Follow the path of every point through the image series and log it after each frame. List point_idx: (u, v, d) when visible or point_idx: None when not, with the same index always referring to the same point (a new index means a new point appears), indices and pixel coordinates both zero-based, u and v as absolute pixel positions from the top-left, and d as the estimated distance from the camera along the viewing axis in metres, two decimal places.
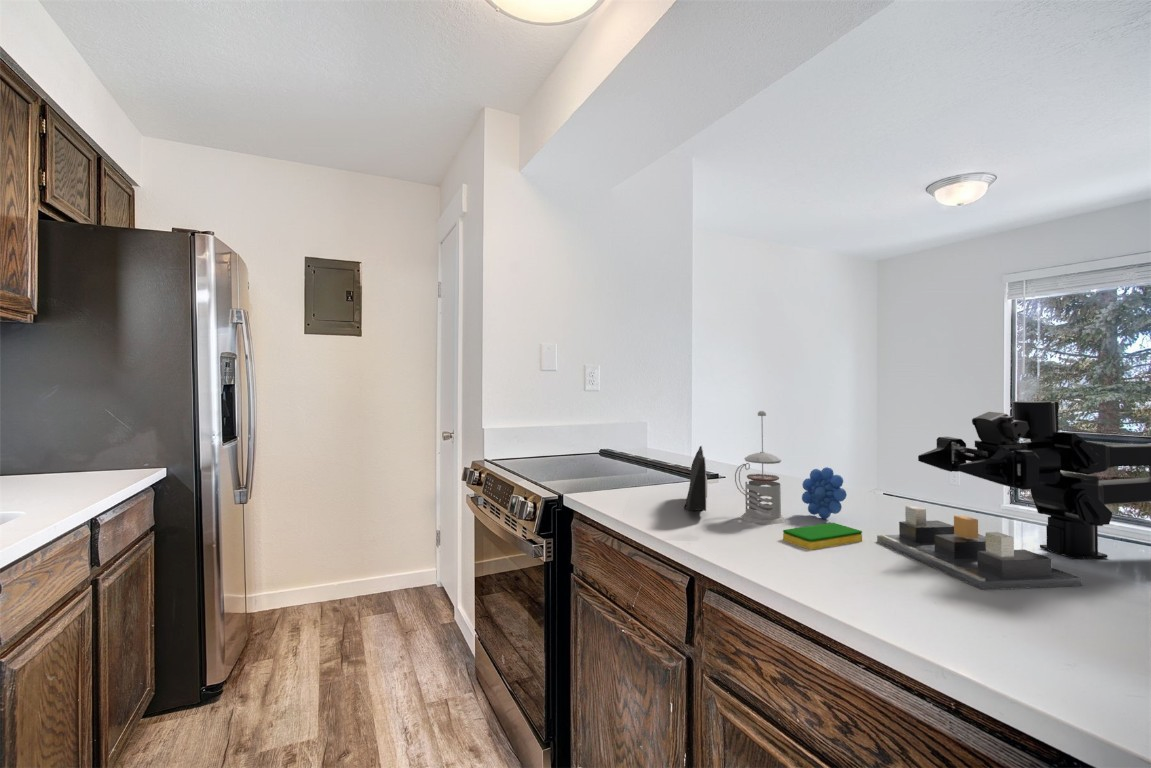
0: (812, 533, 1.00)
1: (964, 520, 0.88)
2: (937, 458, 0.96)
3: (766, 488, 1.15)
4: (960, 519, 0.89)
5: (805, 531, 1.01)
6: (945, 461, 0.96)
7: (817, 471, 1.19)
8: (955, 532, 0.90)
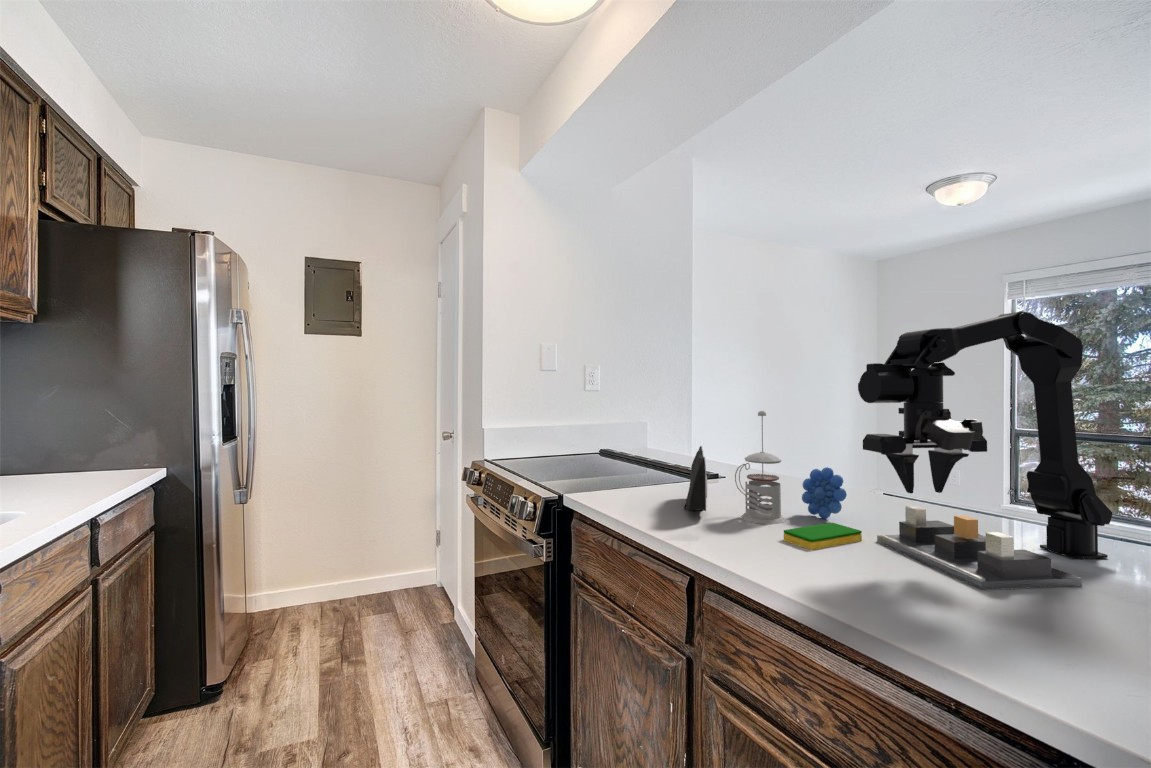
0: (813, 533, 1.00)
1: (964, 520, 0.88)
2: None
3: (766, 488, 1.15)
4: (960, 519, 0.89)
5: (805, 531, 1.01)
6: None
7: (817, 471, 1.19)
8: (955, 532, 0.90)
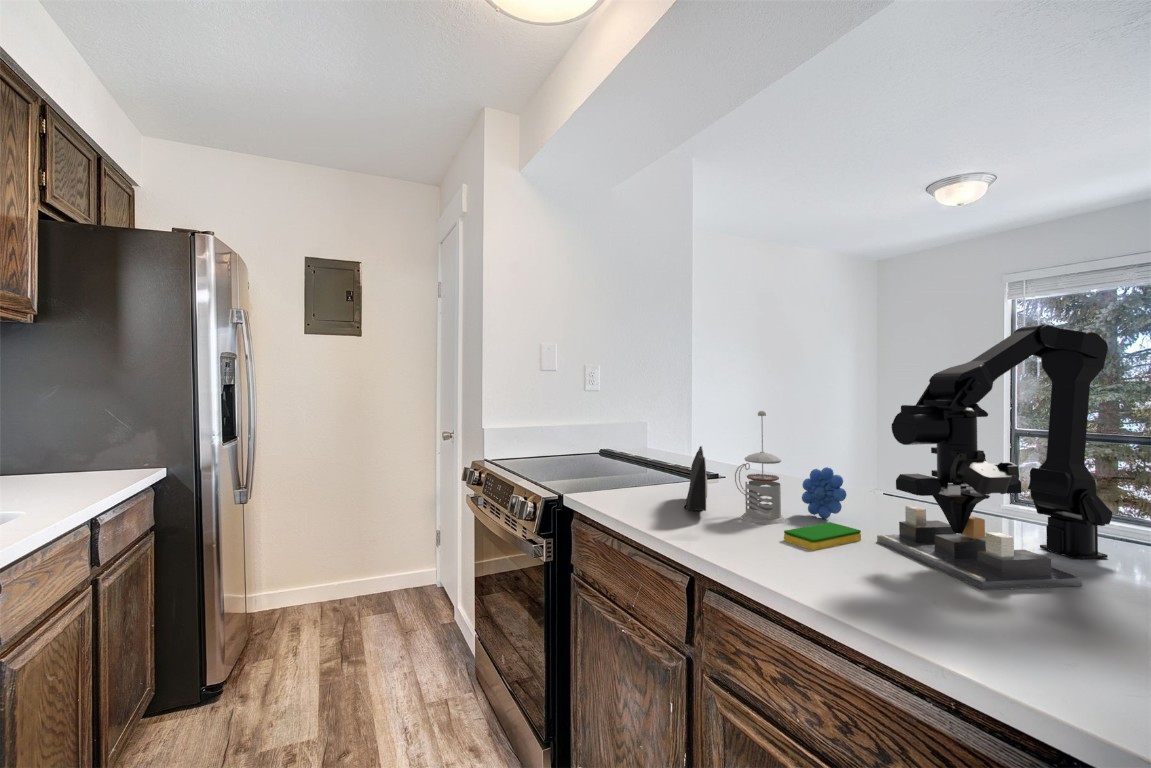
0: (813, 533, 1.00)
1: (971, 520, 0.88)
2: None
3: (766, 488, 1.15)
4: None
5: (806, 531, 1.01)
6: None
7: (817, 471, 1.19)
8: None
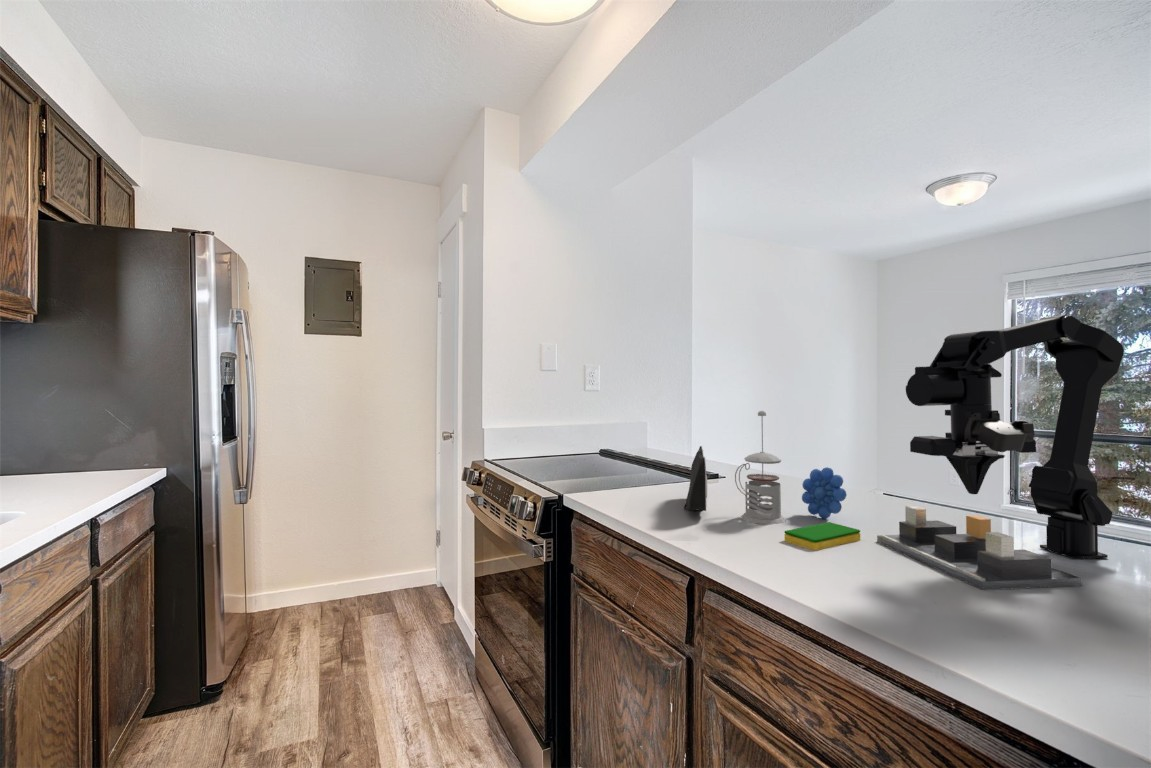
0: (814, 533, 1.00)
1: (977, 520, 0.88)
2: None
3: (766, 488, 1.15)
4: (973, 519, 0.89)
5: (806, 531, 1.01)
6: None
7: (817, 471, 1.19)
8: (967, 532, 0.90)
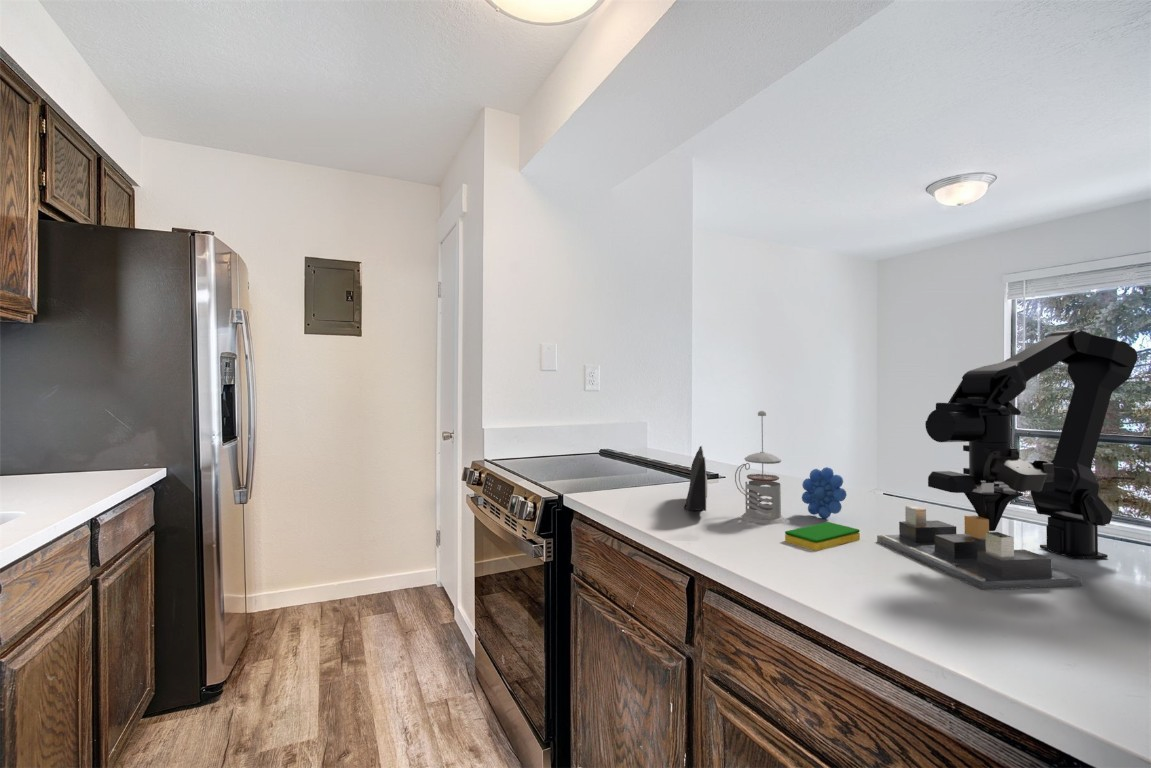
0: (815, 533, 1.00)
1: (975, 520, 0.88)
2: None
3: (766, 488, 1.15)
4: (971, 519, 0.89)
5: (807, 532, 1.01)
6: None
7: (817, 471, 1.19)
8: (966, 532, 0.90)
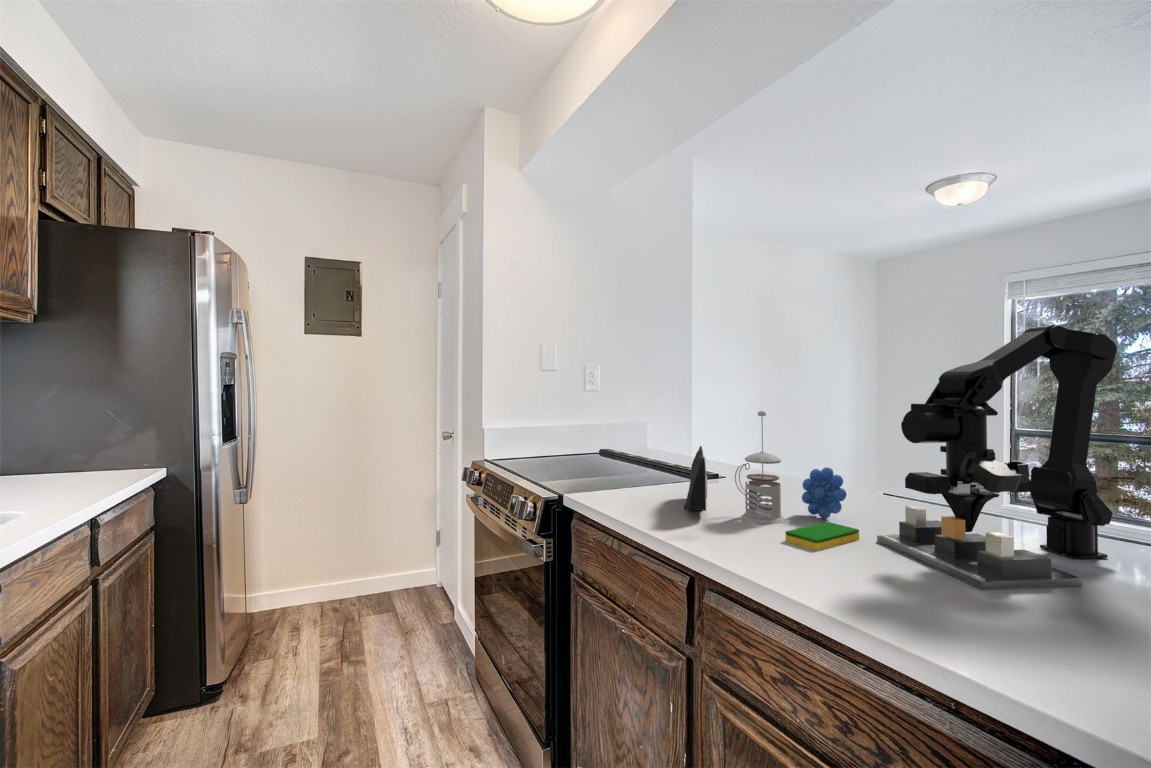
0: (815, 533, 0.99)
1: (951, 520, 0.88)
2: None
3: (766, 488, 1.15)
4: (947, 519, 0.89)
5: (807, 532, 1.00)
6: None
7: (817, 471, 1.19)
8: (943, 532, 0.90)
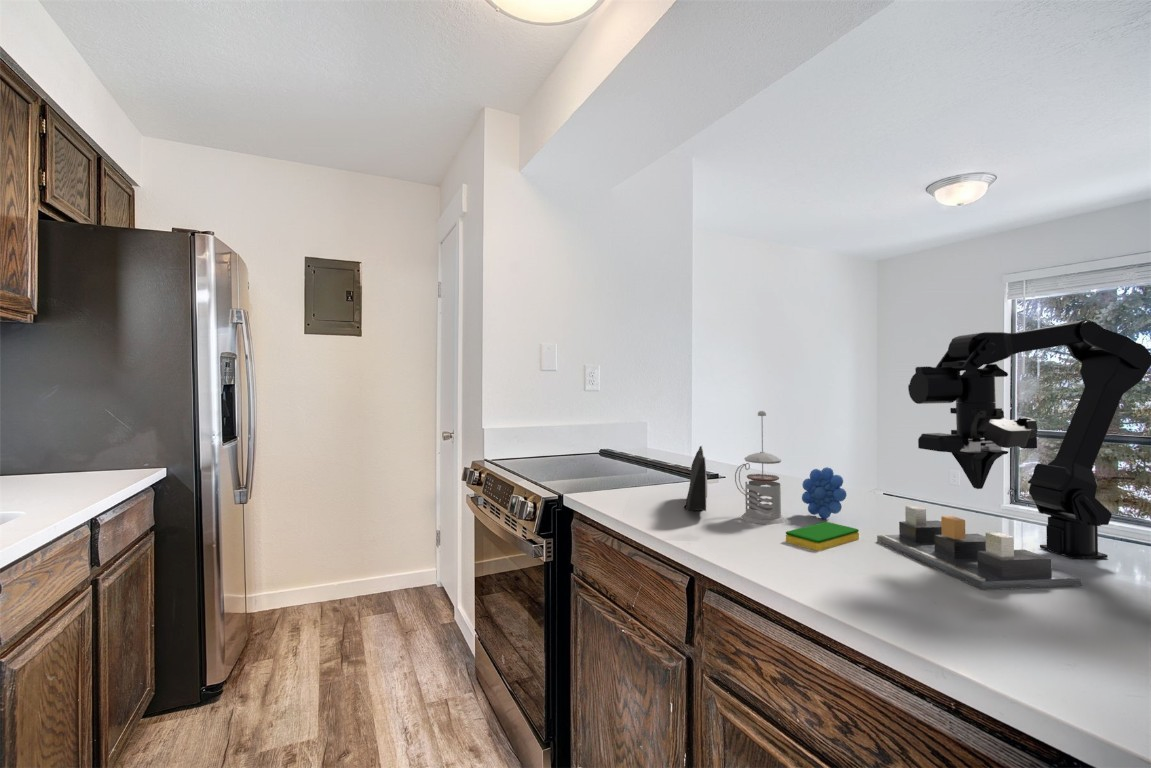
0: (815, 533, 0.99)
1: (951, 520, 0.88)
2: None
3: (766, 488, 1.15)
4: (947, 519, 0.89)
5: (808, 532, 1.00)
6: None
7: (817, 471, 1.19)
8: (942, 532, 0.90)
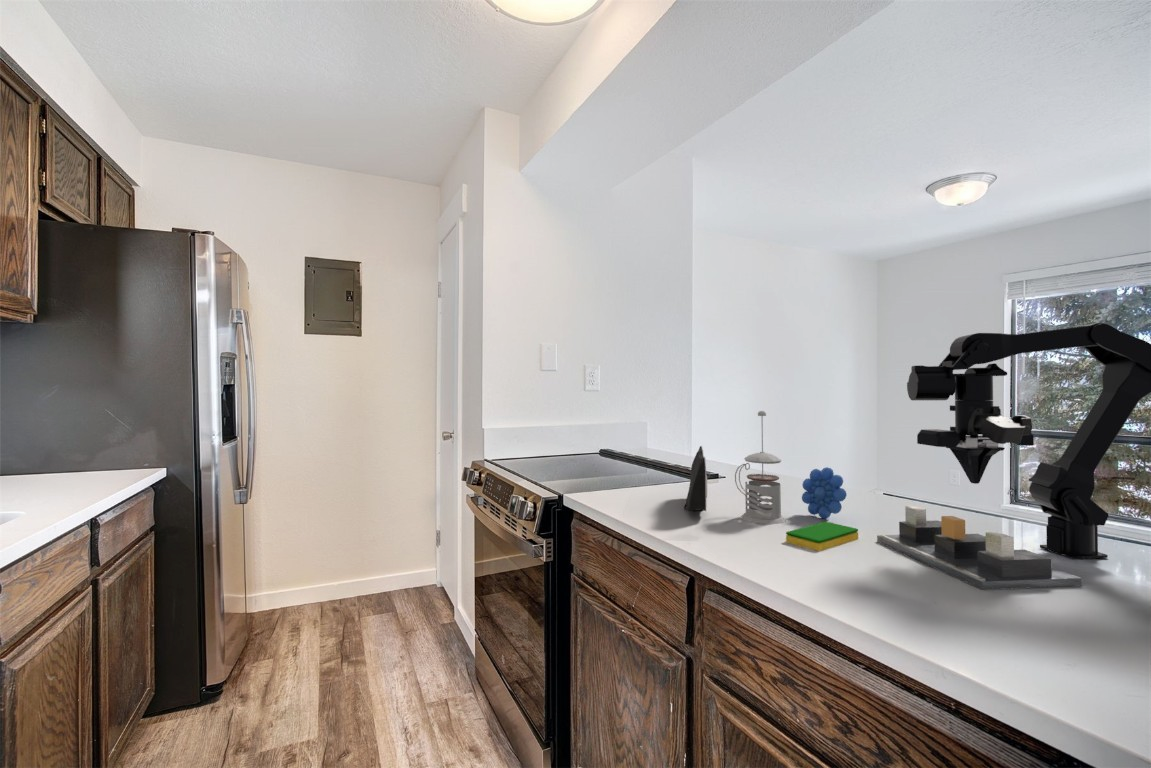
0: (816, 533, 0.99)
1: (951, 520, 0.88)
2: None
3: (766, 488, 1.15)
4: (947, 519, 0.89)
5: (808, 532, 1.00)
6: None
7: (817, 471, 1.19)
8: (942, 532, 0.90)
